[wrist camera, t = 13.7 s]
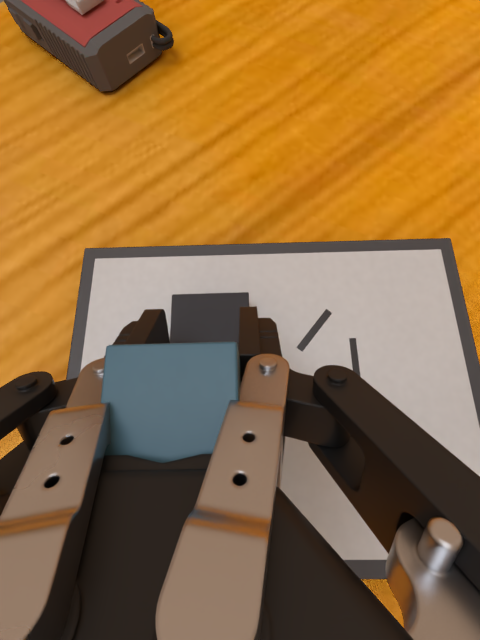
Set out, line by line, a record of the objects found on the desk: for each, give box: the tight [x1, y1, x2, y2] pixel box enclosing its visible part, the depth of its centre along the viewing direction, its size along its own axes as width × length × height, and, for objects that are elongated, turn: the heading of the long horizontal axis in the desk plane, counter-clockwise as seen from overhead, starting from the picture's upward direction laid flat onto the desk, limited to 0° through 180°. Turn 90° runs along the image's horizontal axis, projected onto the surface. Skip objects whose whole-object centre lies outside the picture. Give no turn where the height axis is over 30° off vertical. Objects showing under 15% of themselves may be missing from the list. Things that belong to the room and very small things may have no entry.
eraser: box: [101, 292, 249, 463], centre depth 12 cm, size 12×4×10 cm, turn 1°
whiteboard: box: [66, 238, 480, 579], centre depth 17 cm, size 17×22×1 cm
